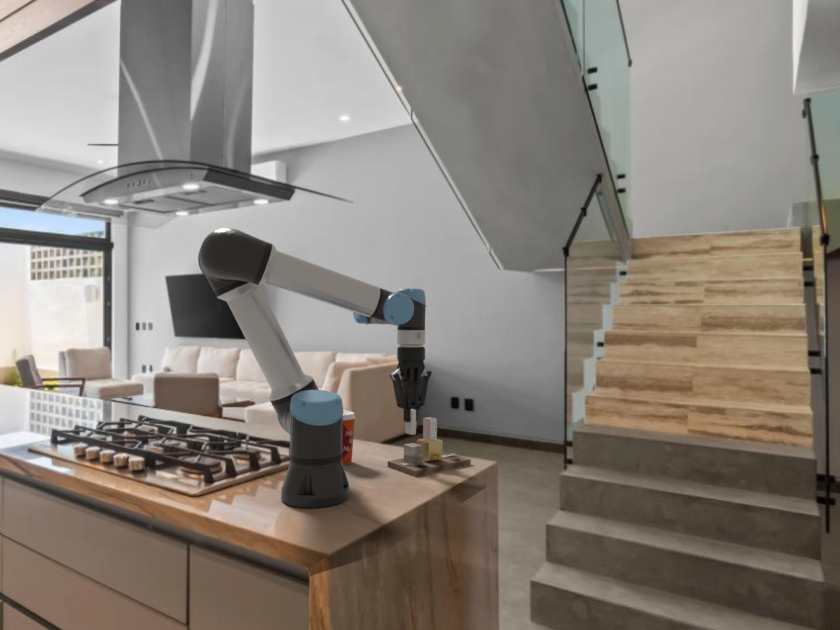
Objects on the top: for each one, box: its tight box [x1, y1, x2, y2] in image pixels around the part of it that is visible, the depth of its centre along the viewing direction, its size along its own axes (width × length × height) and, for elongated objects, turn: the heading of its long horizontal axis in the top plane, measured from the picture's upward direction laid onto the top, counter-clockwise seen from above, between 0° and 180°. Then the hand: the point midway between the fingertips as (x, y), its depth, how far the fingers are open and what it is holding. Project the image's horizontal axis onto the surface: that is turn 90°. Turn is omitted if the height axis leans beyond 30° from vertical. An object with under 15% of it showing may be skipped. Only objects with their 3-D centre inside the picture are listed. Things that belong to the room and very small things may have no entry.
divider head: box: [416, 416, 444, 462], centre depth 151 cm, size 5×7×11 cm
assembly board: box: [387, 442, 472, 478], centre depth 152 cm, size 20×12×6 cm, turn 129°
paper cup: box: [342, 410, 357, 466], centre depth 154 cm, size 8×8×14 cm
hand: (410, 433), depth 148 cm, fingers closed
